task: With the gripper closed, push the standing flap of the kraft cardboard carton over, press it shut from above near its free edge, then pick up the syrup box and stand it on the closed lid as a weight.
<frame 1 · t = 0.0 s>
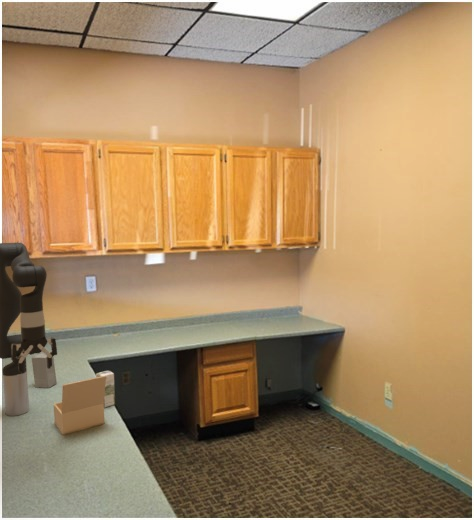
hand: (35, 370, 158), 29 cm above the countertop, fingers open, 8 cm apart
carton: (79, 423, 183), on the countertop
syrup box: (106, 405, 202), on the countertop
skincare box: (45, 386, 229), on the countertop
lid: (84, 394, 175), point 14 cm above the countertop, hinge at 110.0°
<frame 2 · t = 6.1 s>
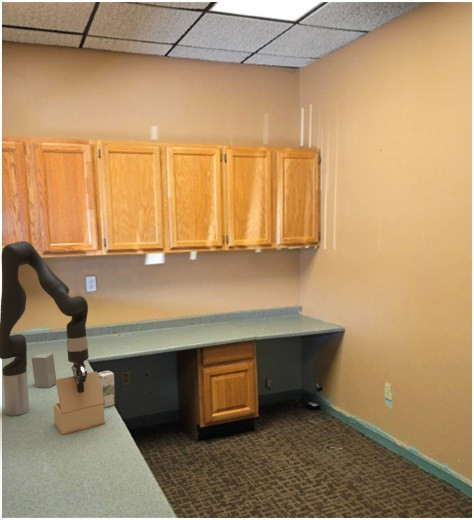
hand: (80, 392, 179), 14 cm above the countertop, fingers closed
lid: (79, 391, 180), point 14 cm above the countertop, hinge at 59.1°, touching gripper
everything else where it was.
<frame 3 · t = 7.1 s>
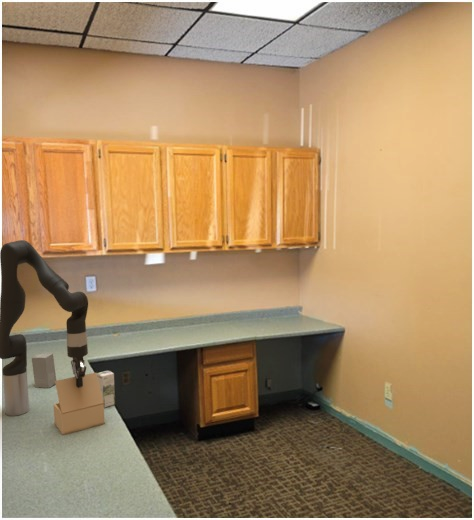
hand: (79, 386, 180), 16 cm above the countertop, fingers closed
lid: (79, 392, 180), point 14 cm above the countertop, hinge at 52.9°
everything else where it was.
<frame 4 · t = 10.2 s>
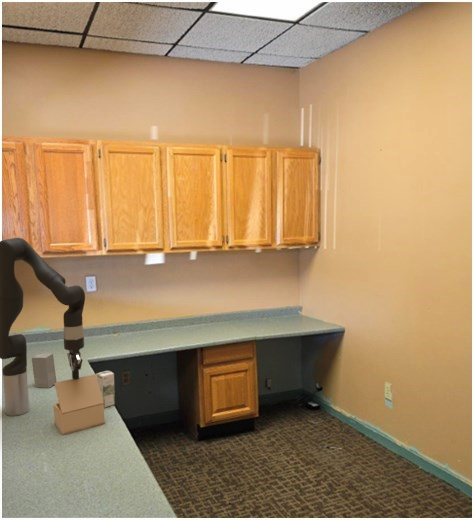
hand: (75, 378, 183), 18 cm above the countertop, fingers closed
lid: (79, 393, 181), point 13 cm above the countertop, hinge at 45.3°, touching gripper
everything else where it was.
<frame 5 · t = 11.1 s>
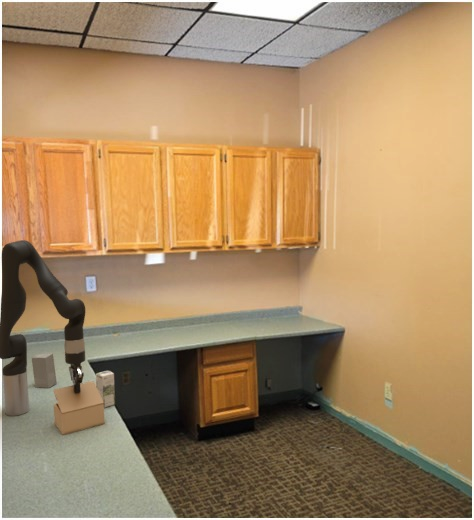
hand: (77, 392, 183), 12 cm above the countertop, fingers closed
lid: (78, 396, 182), point 11 cm above the countertop, hinge at 25.9°, touching gripper
everything else where it was.
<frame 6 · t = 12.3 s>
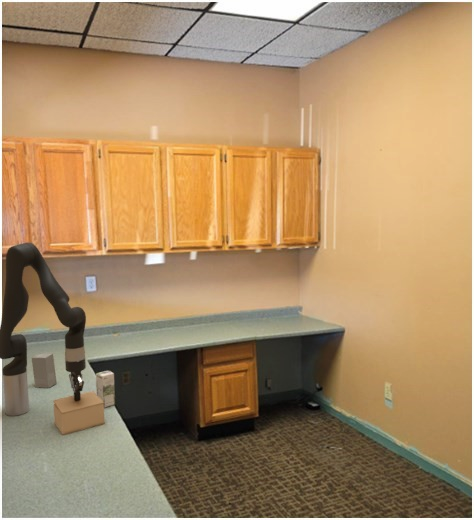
hand: (77, 400, 183), 9 cm above the countertop, fingers closed
lid: (78, 401, 183), point 9 cm above the countertop, hinge at 4.2°, touching gripper
everything else where it was.
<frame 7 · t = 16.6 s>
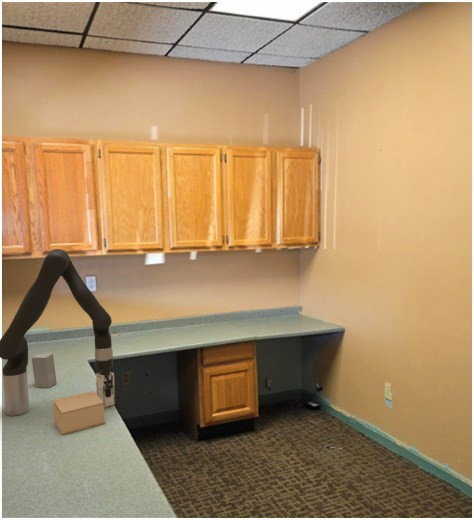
hand: (105, 394, 201), 5 cm above the countertop, fingers closed on syrup box, 6 cm apart
syrup box: (106, 405, 202), on the countertop, touching gripper
lid: (78, 401, 183), point 9 cm above the countertop, hinge at 4.2°
everything else where it was.
when the fingers open (15 cm above the countertop, at t = 22.0 s): syrup box stays where it is, resting on lid.
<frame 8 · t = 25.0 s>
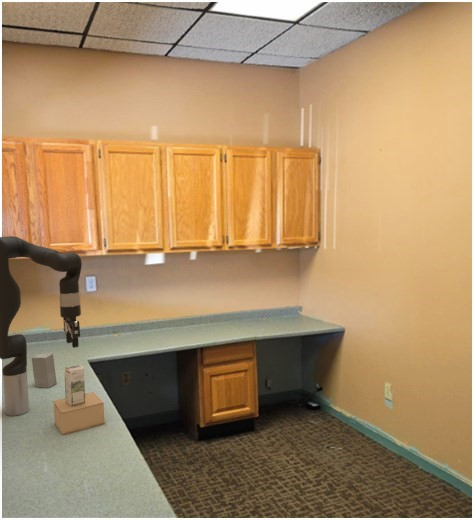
hand: (72, 345, 180), 32 cm above the countertop, fingers open, 8 cm apart
syrup box: (75, 403, 182), point 9 cm above the countertop, touching lid
lid: (78, 402, 183), point 9 cm above the countertop, hinge at 2.5°, touching syrup box
everything else where it was.
at the end: lid at +2° (first picture: +110°); syrup box inside the target area on the carton (1.1 cm from its centre), point 8.7 cm above the carton's base; syrup box tilted 2° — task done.
